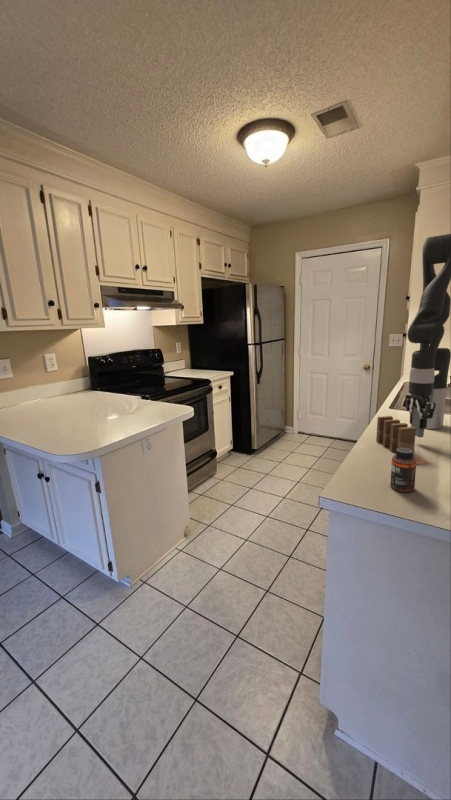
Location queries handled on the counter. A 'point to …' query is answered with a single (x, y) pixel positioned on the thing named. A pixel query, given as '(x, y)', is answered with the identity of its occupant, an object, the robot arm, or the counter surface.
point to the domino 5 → (417, 422)
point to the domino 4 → (406, 438)
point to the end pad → (420, 461)
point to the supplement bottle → (403, 470)
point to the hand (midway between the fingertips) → (417, 425)
